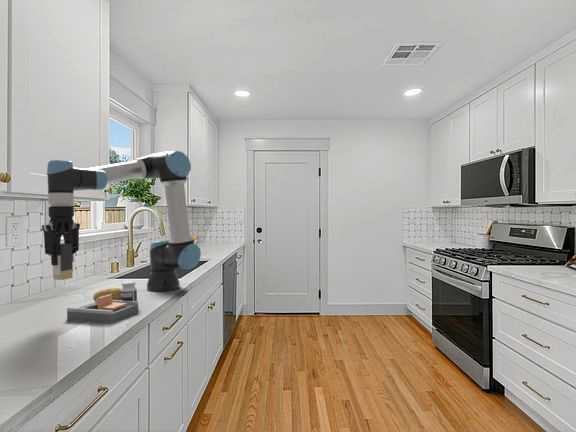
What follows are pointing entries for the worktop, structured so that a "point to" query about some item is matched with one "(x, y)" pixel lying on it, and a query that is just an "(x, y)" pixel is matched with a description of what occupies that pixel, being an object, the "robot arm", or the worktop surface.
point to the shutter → (108, 303)
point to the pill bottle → (129, 291)
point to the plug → (65, 262)
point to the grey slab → (102, 312)
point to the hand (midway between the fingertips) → (63, 273)
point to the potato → (115, 294)
